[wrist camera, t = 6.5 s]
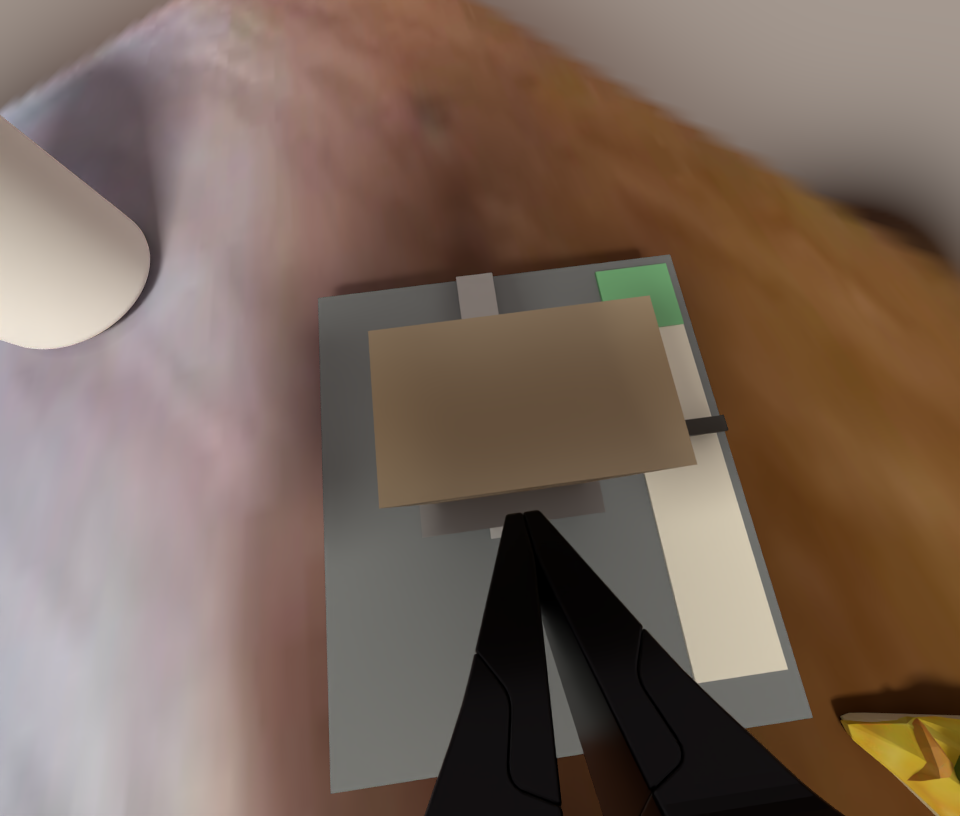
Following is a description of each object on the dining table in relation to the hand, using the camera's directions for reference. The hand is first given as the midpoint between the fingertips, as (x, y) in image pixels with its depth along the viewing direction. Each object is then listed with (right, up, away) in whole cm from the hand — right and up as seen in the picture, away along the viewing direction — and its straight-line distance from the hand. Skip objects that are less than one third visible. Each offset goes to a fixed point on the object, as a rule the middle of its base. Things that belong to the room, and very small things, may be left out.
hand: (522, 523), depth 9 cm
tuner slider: (+3, +1, +5) cm, 6 cm away
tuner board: (+1, 0, +7) cm, 7 cm away
